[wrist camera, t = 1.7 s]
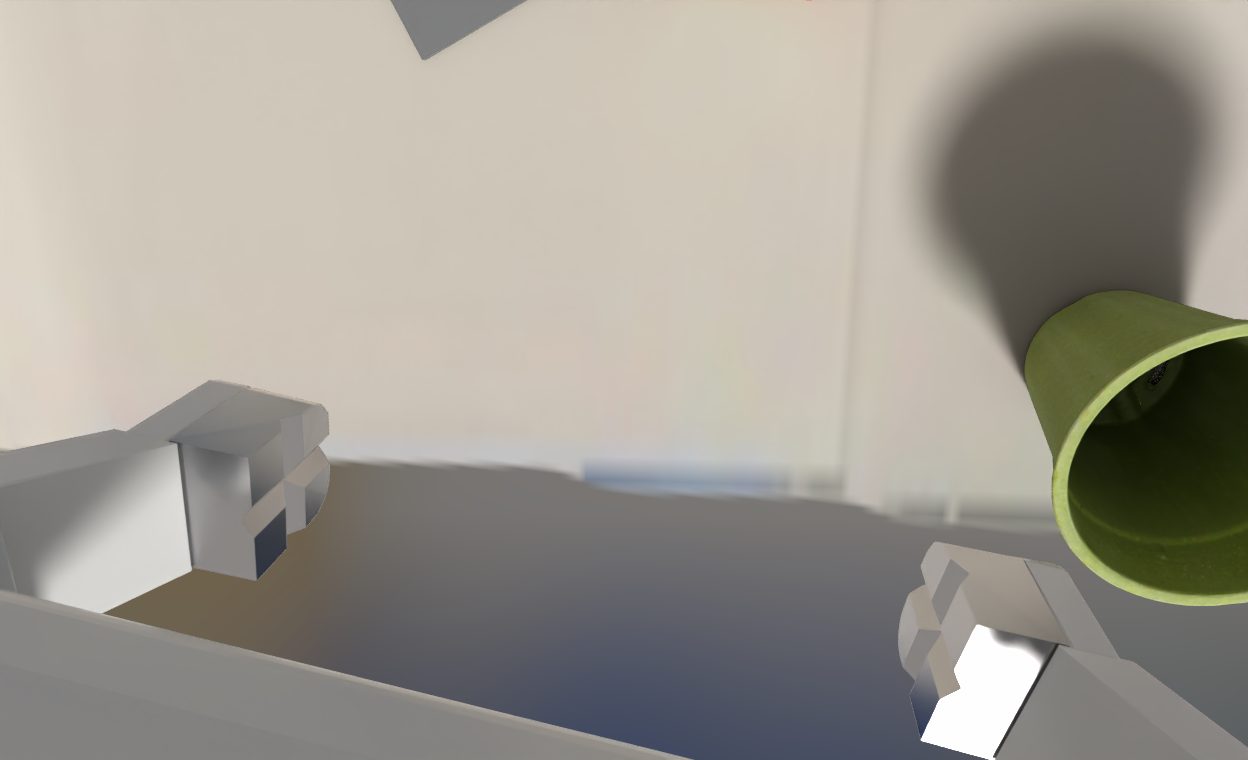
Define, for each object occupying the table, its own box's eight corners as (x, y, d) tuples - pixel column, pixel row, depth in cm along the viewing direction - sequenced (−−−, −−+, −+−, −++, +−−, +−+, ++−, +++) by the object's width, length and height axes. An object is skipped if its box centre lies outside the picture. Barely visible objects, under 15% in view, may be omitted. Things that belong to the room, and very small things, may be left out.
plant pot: (954, 279, 36) (1037, 366, 26) (1232, 211, 33) (1448, 280, 23) (987, 483, 40) (1070, 628, 30) (1237, 439, 37) (1424, 583, 27)
